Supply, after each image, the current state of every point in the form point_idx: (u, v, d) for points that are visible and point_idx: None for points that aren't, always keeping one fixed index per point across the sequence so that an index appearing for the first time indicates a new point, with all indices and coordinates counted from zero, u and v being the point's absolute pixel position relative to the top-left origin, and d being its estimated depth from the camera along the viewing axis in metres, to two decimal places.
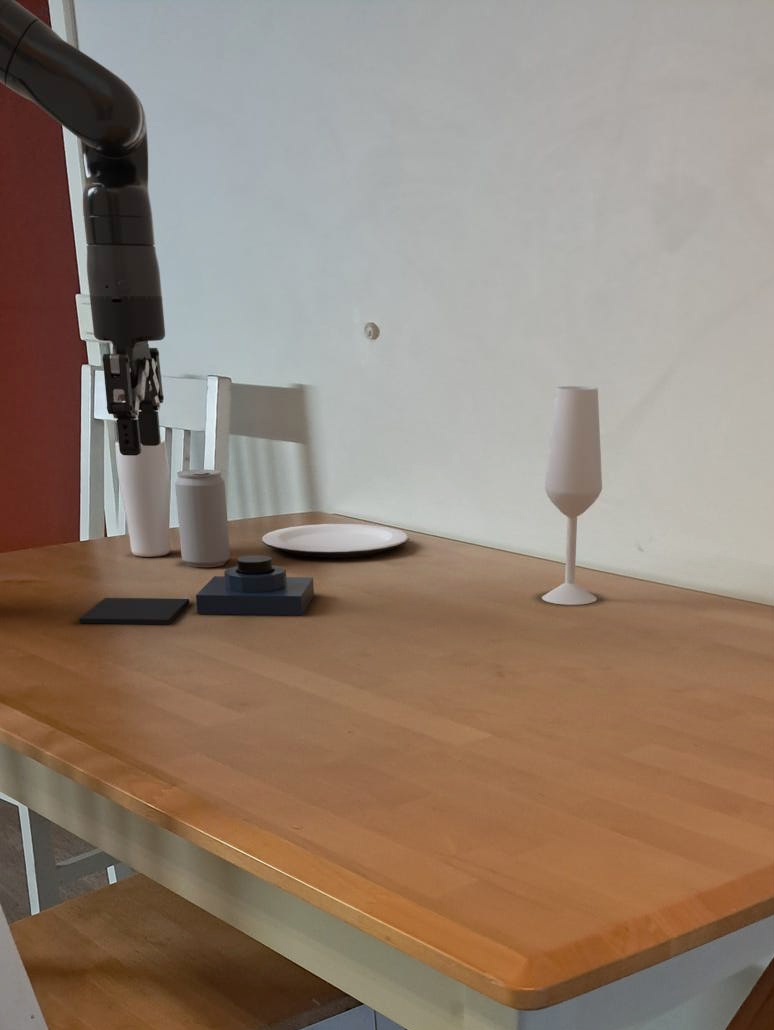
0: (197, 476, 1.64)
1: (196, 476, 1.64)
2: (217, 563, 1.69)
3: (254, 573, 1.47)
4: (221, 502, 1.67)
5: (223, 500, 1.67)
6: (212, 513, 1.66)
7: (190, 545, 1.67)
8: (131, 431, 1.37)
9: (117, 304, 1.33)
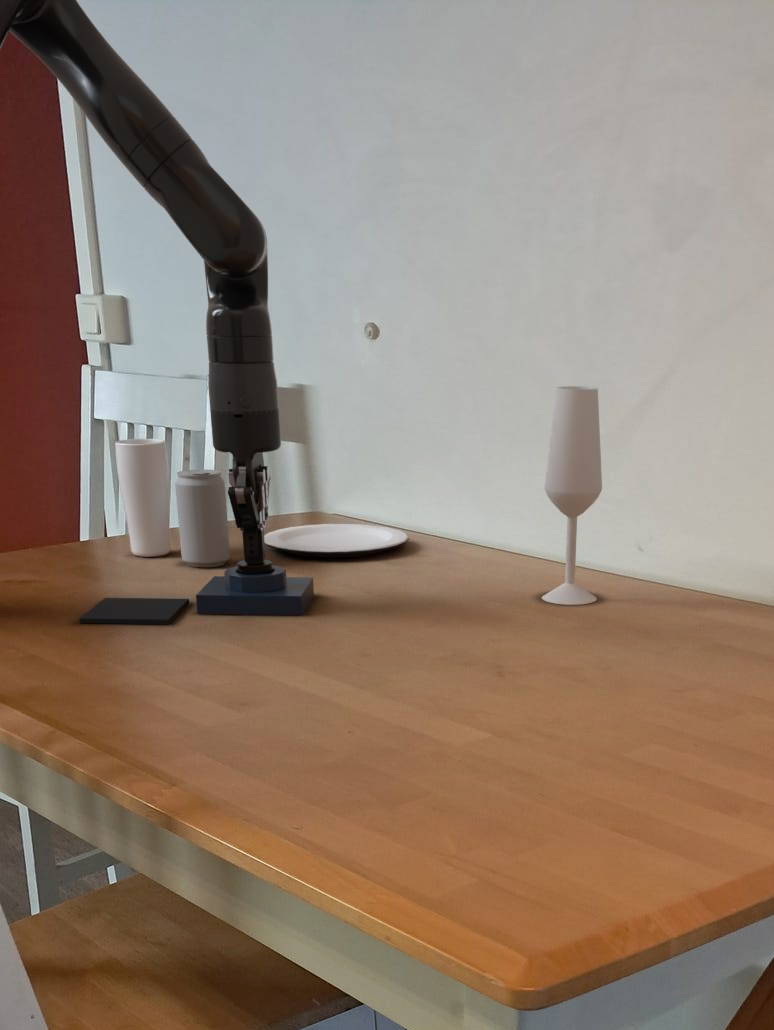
0: (197, 476, 1.64)
1: (196, 476, 1.64)
2: (217, 563, 1.69)
3: None
4: (221, 502, 1.67)
5: (223, 500, 1.67)
6: (212, 513, 1.66)
7: (190, 545, 1.67)
8: (256, 542, 1.46)
9: (239, 419, 1.38)
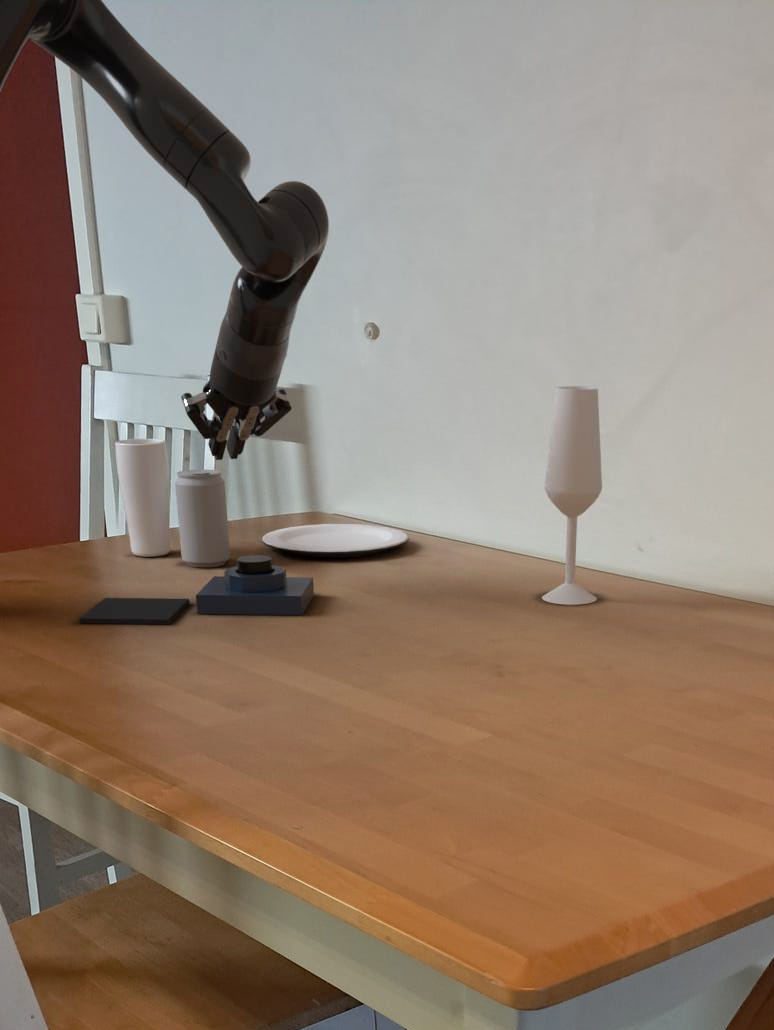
0: (197, 476, 1.64)
1: (196, 476, 1.64)
2: (217, 563, 1.69)
3: (254, 573, 1.47)
4: (221, 502, 1.67)
5: (223, 500, 1.67)
6: (212, 513, 1.66)
7: (190, 545, 1.67)
8: (213, 444, 1.53)
9: (216, 359, 1.41)
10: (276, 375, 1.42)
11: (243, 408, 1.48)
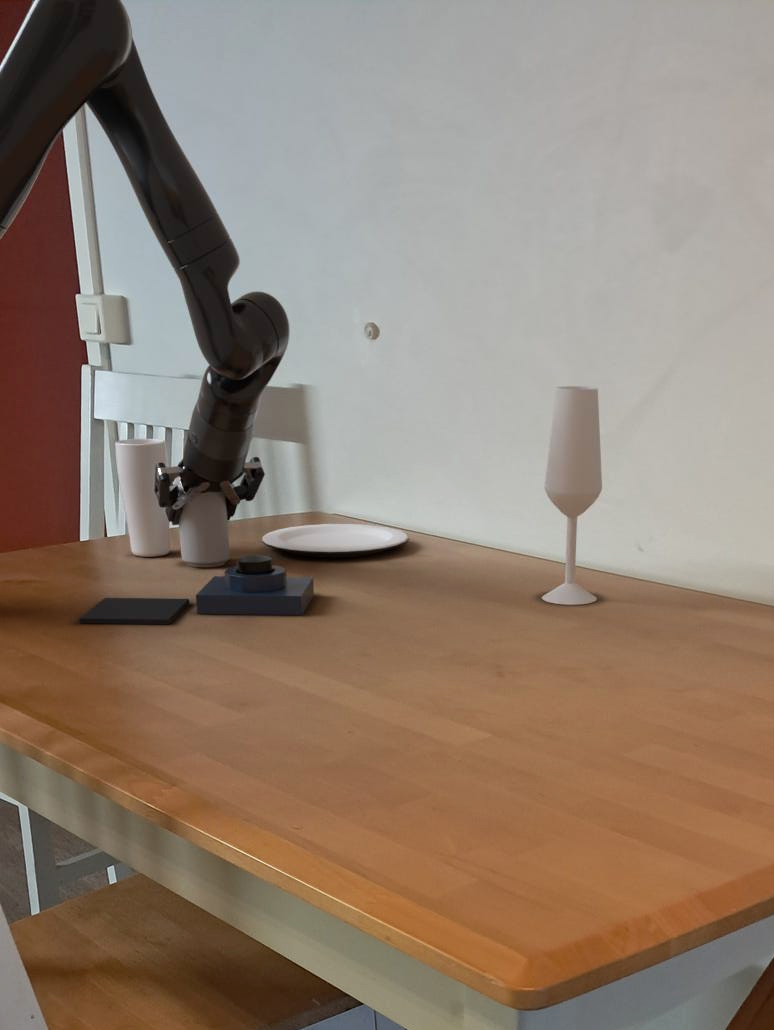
0: None
1: None
2: (217, 563, 1.69)
3: (254, 573, 1.47)
4: (221, 502, 1.67)
5: (223, 500, 1.67)
6: (212, 513, 1.66)
7: (190, 545, 1.67)
8: (169, 512, 1.66)
9: (189, 442, 1.55)
10: (243, 455, 1.56)
11: (215, 482, 1.62)
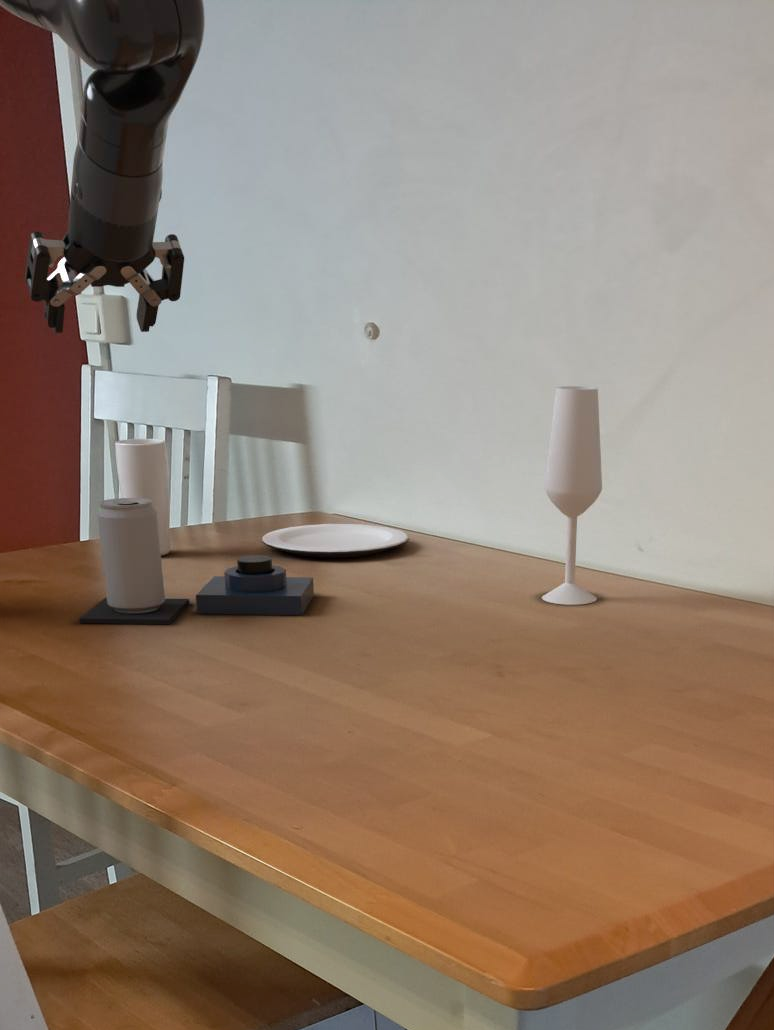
0: (122, 507, 1.38)
1: (121, 507, 1.38)
2: (148, 609, 1.43)
3: (254, 573, 1.47)
4: (152, 537, 1.41)
5: (154, 534, 1.41)
6: (141, 550, 1.40)
7: (116, 587, 1.41)
8: (48, 311, 1.22)
9: (72, 200, 1.12)
10: (148, 221, 1.13)
11: (114, 269, 1.20)
